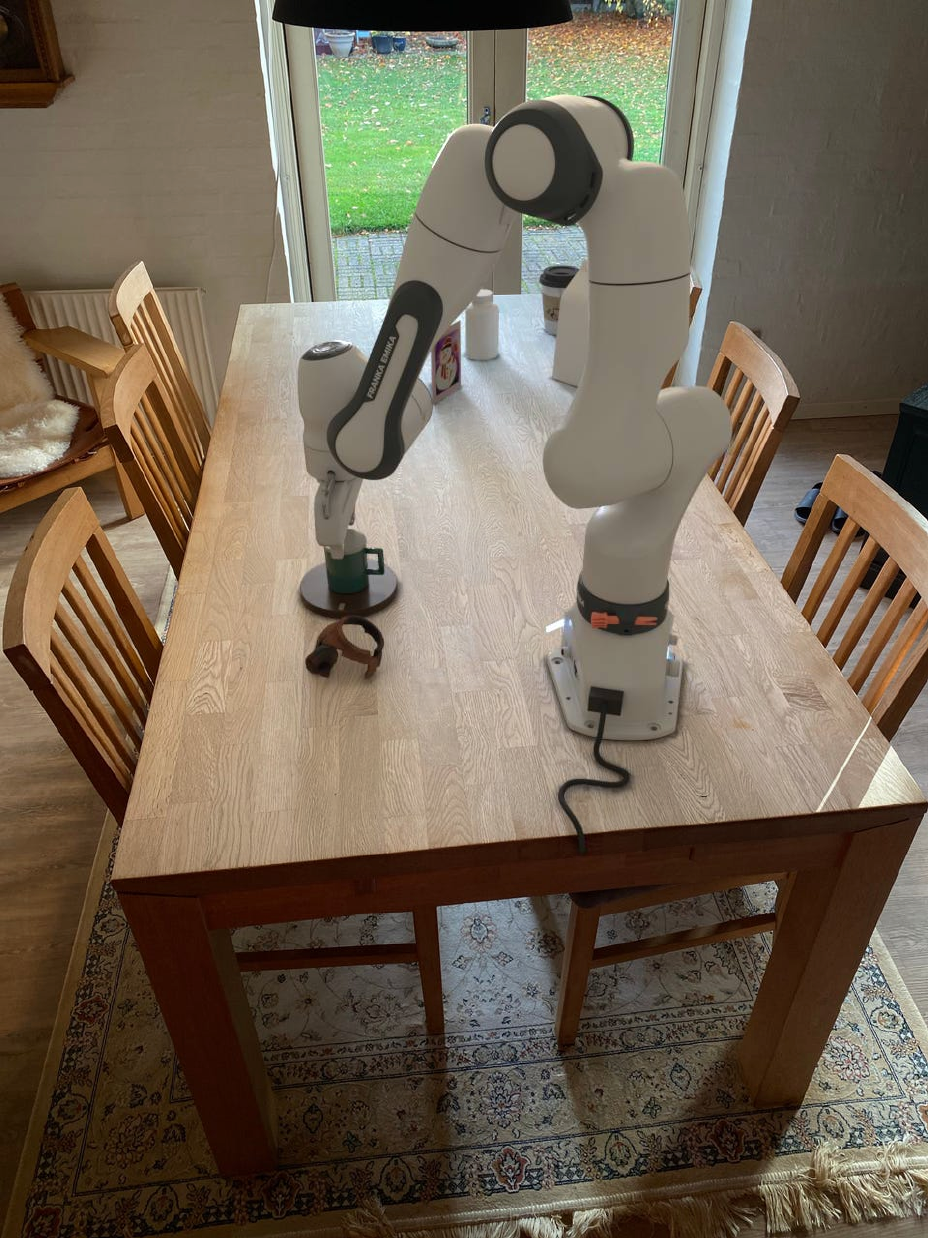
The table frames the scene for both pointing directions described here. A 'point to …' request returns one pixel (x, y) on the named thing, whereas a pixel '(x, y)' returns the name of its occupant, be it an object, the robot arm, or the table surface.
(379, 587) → the turntable
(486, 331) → the pill bottle
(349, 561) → the green lidded mug
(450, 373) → the greeting card
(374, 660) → the brown strap loop
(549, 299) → the coffee cup
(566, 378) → the milk
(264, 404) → the table surface
